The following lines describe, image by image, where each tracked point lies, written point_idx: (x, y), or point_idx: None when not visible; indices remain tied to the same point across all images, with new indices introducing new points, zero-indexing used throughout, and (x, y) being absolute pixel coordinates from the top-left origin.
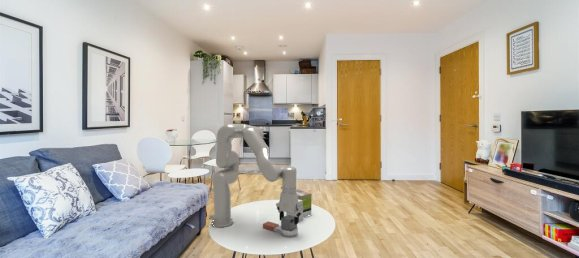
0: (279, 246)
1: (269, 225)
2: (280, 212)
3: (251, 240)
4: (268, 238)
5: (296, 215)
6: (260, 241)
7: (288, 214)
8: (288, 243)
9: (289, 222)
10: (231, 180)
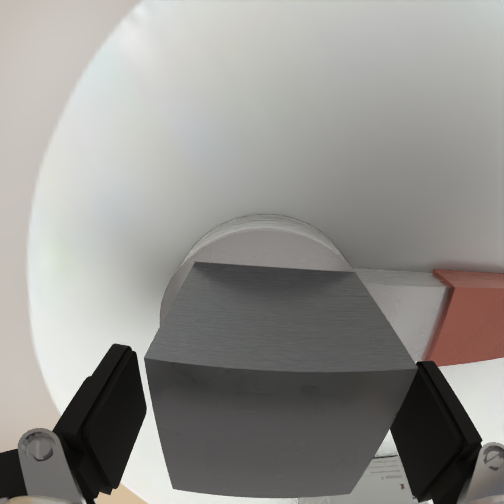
0: (189, 7)
1: (496, 296)
2: (471, 462)
3: (476, 15)
4: (398, 95)
5: (25, 456)
6: (414, 14)
7: (393, 495)
8: (144, 106)
9: (183, 329)
10: None
